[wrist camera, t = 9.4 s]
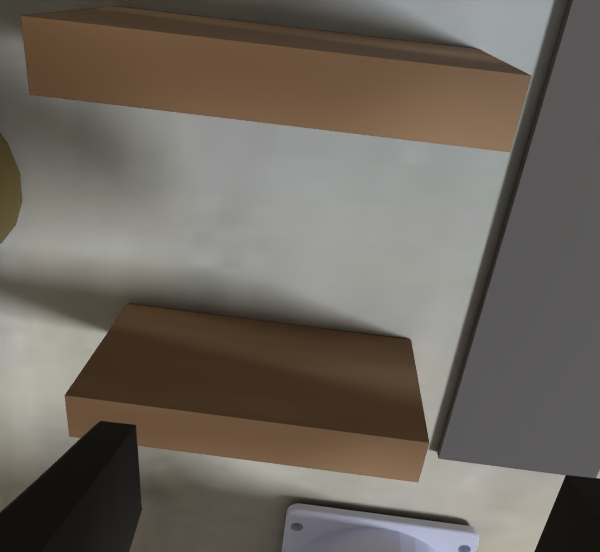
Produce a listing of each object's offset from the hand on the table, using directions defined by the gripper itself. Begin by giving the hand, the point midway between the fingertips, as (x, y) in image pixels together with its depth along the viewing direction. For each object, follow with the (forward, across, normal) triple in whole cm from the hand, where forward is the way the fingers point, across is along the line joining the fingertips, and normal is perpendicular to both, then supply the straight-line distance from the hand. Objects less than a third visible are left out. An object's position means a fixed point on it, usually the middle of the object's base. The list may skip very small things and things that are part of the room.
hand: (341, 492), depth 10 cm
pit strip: (+10, -8, -1) cm, 13 cm away
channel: (+10, +2, -1) cm, 10 cm away
